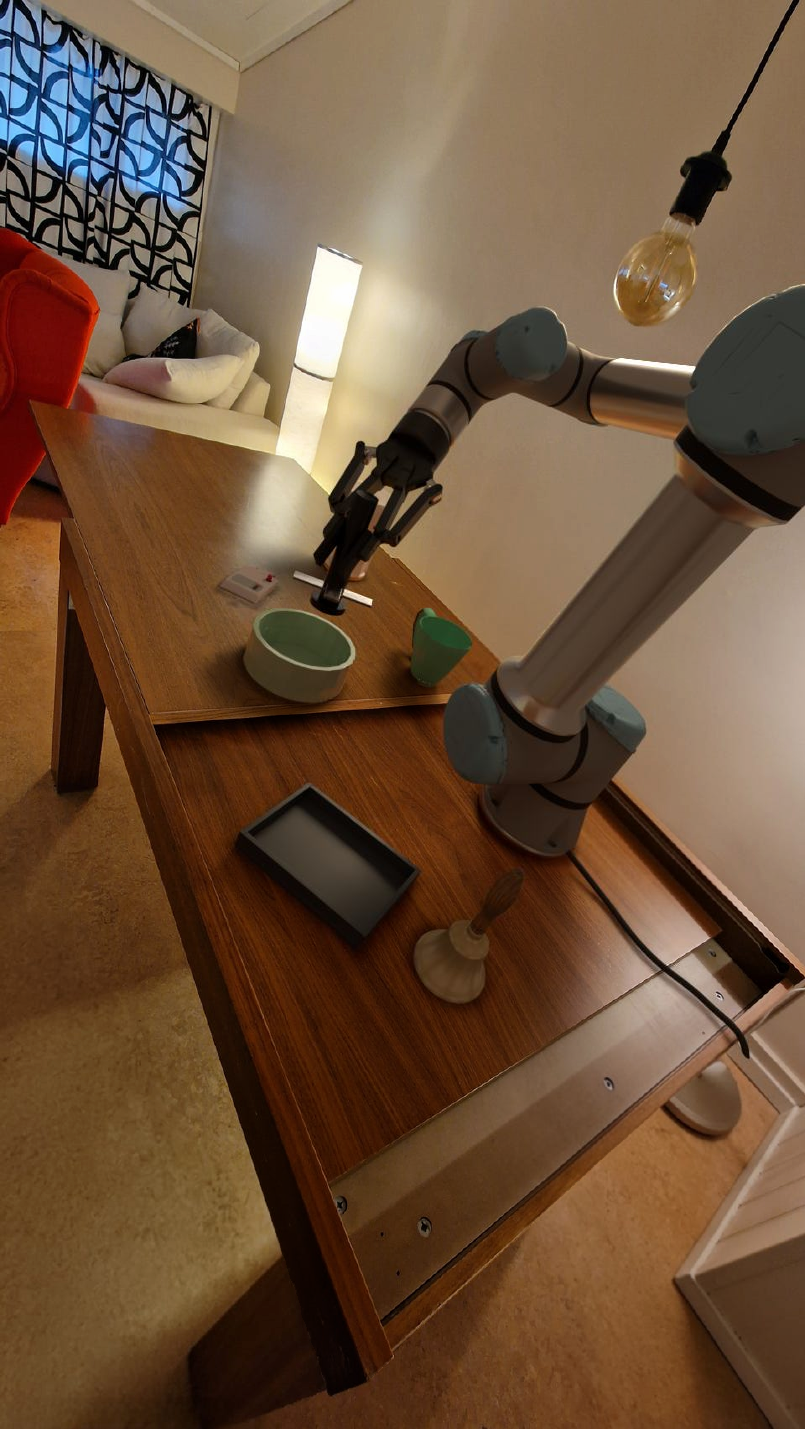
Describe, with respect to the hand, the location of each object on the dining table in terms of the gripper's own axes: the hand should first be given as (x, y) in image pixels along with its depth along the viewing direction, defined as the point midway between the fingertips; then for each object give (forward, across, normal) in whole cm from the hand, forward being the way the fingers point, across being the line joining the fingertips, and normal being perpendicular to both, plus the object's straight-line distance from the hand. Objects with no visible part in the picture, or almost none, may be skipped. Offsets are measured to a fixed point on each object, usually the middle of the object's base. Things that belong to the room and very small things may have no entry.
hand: (329, 567), depth 78 cm
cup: (-19, +17, -50) cm, 56 cm away
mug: (-5, -11, -36) cm, 38 cm away
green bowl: (+10, +3, -20) cm, 23 cm away
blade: (+2, 0, -8) cm, 8 cm away
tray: (+30, -20, -1) cm, 36 cm away
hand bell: (+32, -37, 0) cm, 49 cm away
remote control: (0, +22, -31) cm, 38 cm away
